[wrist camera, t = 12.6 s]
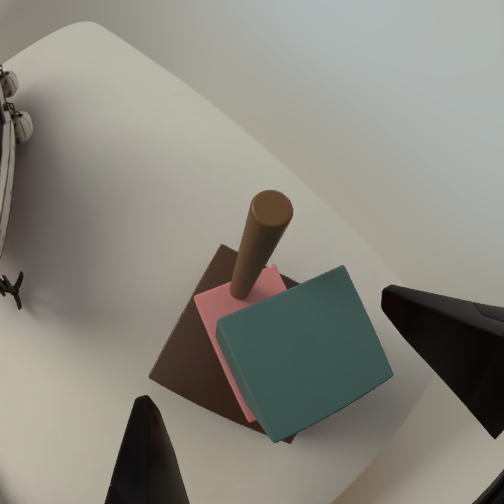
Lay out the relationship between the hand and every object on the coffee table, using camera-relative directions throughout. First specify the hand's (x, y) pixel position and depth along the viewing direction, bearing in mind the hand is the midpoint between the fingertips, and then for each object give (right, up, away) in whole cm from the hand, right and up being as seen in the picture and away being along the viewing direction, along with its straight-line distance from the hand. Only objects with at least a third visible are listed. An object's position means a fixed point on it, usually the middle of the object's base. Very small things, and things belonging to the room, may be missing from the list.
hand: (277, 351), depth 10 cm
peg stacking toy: (-1, -1, +4) cm, 4 cm away
